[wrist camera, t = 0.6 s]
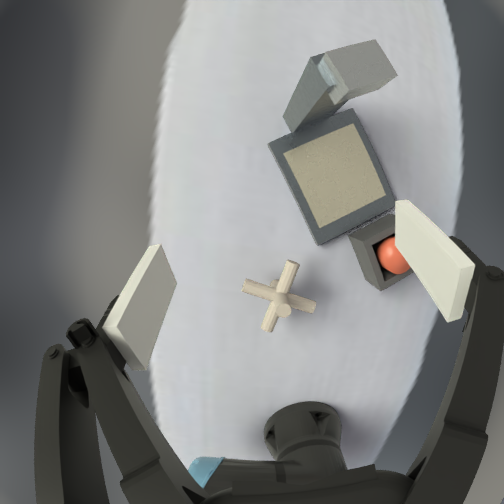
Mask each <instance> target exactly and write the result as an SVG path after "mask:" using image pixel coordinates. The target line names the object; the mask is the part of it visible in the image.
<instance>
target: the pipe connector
mask: <svg viewBox="0 0 504 504" xmlns="http://www.w3.org/2000/svg"><path fill="white" fill-rule="evenodd" d="M299 266H300V264H298V263H296V262H294V261H291V260H287V262H286V264H285V267H284V269H283V272H282V274H281V277H280V280H273V281H272V282H271V283H270V286H267V285H264V284H261V283H258V282H255V281H252V280H249V279H245V282H244V284H243V288H242V292H245V293H248V294H251V295H254V296H258V297H261V298H264V299H267V300H270V301H271V302H270V305H269V307H268V310H267V312H266V315H265V317H264V320H263V322H262V325H261V328H262V329H263V330H264V331H267V332H272V331H273V329H274V327H275V325H276V322H277V320H278V317H282V318H285V317H288V316H289V315H290V313H291V307H292V308H295V309H298V310H302V311H305V312H308V313H311V314H312V313H313V311H314V309H315V307H316V301H313V300H310V299H307V298H304V297H301V296H297V295H294V294H291V293H289V291H290V288H291V286H292V283H293V281H294V278H295V276H296V273H297V271H298V268H299Z"/></svg>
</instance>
